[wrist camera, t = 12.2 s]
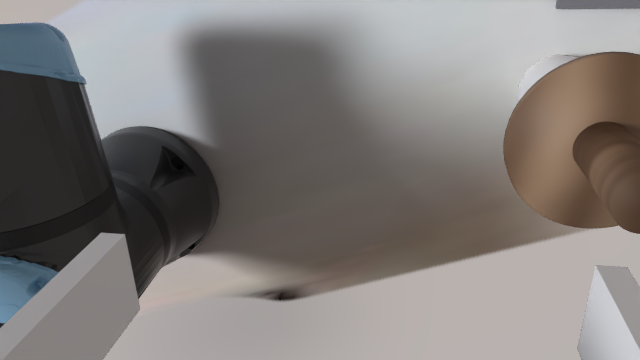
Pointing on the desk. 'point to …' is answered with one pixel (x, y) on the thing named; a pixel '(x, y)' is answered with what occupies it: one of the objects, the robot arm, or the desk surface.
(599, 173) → the lid
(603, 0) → the mat
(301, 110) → the desk surface
